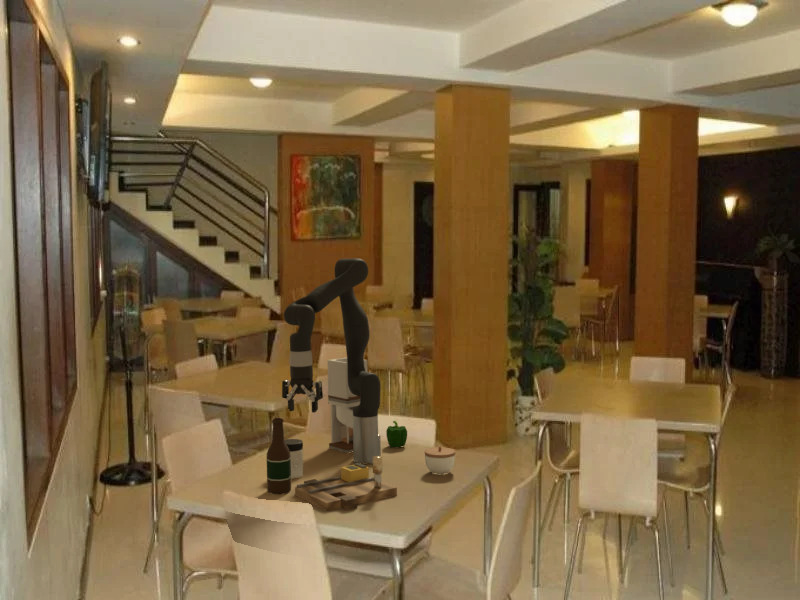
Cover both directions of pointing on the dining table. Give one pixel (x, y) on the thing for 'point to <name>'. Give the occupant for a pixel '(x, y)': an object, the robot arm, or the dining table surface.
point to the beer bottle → (278, 461)
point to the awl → (377, 471)
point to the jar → (296, 457)
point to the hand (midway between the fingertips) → (302, 411)
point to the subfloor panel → (342, 492)
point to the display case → (341, 405)
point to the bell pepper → (396, 435)
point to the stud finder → (354, 472)
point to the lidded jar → (440, 459)
